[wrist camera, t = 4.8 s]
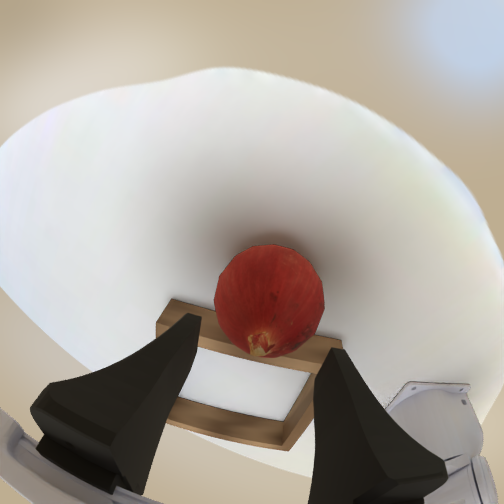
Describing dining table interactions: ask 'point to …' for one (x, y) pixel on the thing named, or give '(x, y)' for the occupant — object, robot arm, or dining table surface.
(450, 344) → the dining table surface
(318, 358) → the box
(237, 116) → the dining table surface
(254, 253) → the onion
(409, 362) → the dining table surface
